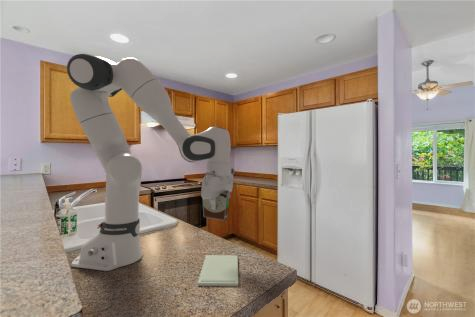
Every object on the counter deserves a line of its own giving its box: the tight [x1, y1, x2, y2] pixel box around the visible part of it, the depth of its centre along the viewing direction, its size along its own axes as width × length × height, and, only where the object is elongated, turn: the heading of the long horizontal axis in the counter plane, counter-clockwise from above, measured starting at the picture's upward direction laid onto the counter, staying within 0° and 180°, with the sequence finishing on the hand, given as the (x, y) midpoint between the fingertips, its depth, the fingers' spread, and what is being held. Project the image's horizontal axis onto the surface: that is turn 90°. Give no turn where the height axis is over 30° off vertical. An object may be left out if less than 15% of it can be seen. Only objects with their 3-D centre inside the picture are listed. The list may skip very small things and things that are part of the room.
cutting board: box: [197, 254, 239, 287], centre depth 76 cm, size 12×19×1 cm, turn 1°
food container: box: [201, 190, 232, 222], centre depth 85 cm, size 12×6×10 cm, turn 61°
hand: (218, 207), depth 84 cm, fingers closed on food container, 5 cm apart
